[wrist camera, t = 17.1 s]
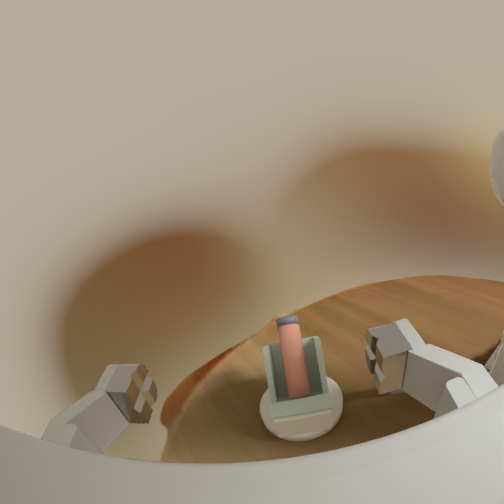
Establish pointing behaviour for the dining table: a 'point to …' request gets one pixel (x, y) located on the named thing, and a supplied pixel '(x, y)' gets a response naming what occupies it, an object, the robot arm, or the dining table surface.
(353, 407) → the dining table surface
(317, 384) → the green holder stand
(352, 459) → the robot arm
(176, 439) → the dining table surface
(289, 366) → the marker
